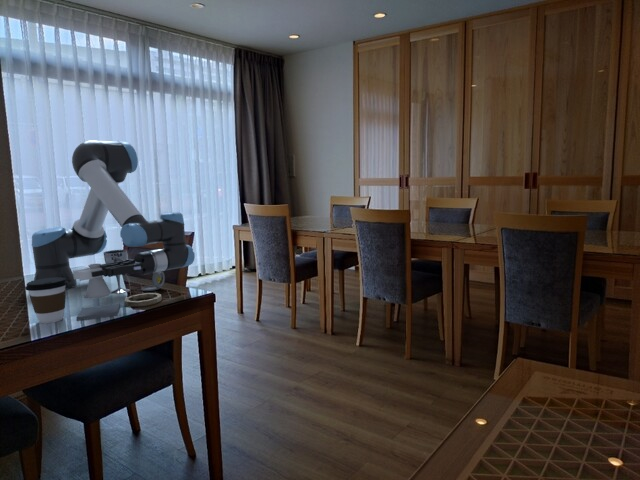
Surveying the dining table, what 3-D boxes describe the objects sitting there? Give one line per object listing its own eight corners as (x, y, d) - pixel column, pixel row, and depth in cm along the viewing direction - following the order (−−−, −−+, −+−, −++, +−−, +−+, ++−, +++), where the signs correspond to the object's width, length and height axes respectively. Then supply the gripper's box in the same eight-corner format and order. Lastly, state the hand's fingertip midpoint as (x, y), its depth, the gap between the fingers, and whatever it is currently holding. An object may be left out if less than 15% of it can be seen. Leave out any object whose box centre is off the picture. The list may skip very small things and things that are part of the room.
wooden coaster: (126, 299, 161) (125, 295, 161) (161, 295, 164) (161, 291, 164) (123, 308, 150) (123, 303, 150) (161, 303, 154) (161, 299, 153)
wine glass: (128, 293, 171) (124, 252, 169) (105, 295, 170) (100, 253, 168) (133, 288, 179) (129, 249, 177) (111, 289, 177) (106, 250, 175)
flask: (101, 299, 141) (97, 266, 139) (79, 299, 142) (75, 266, 141) (116, 293, 148) (112, 262, 146) (95, 293, 149) (92, 262, 148)
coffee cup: (74, 320, 139) (69, 280, 138) (31, 328, 133) (26, 287, 131) (69, 312, 148) (64, 275, 146) (28, 320, 142) (23, 281, 140)
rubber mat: (82, 310, 149) (82, 307, 149) (120, 306, 153) (119, 303, 153) (76, 320, 139) (76, 317, 139) (117, 315, 142) (116, 312, 142)
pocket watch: (142, 288, 177) (139, 262, 175) (165, 286, 179) (163, 260, 178) (141, 293, 169) (138, 266, 168) (165, 291, 172) (163, 263, 170)
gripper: (164, 275, 152) (89, 291, 135) (139, 271, 163) (67, 284, 146) (161, 252, 151) (86, 265, 134) (136, 249, 162) (64, 261, 145)
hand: (76, 275), depth 140 cm, fingers closed on flask, 3 cm apart
